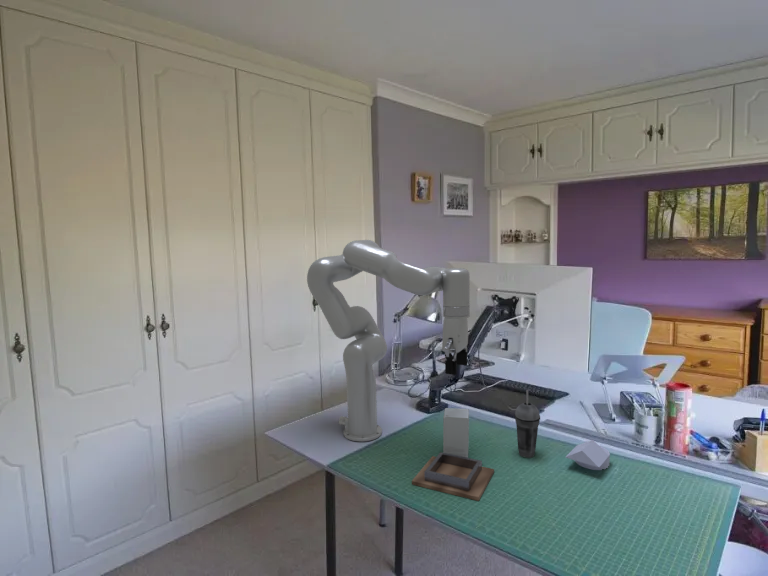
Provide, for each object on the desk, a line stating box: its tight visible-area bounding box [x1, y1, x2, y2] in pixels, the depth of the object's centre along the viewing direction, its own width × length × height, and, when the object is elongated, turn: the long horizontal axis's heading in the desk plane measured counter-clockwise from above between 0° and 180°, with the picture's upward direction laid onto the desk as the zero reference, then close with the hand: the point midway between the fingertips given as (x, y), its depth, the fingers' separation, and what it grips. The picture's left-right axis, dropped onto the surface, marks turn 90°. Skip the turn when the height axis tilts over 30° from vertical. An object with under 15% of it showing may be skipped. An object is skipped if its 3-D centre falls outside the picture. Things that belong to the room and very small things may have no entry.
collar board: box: [411, 451, 495, 502], centre depth 128 cm, size 18×15×4 cm
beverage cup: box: [514, 389, 541, 459], centre depth 140 cm, size 7×7×20 cm
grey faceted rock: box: [565, 439, 611, 471], centre depth 134 cm, size 9×7×13 cm
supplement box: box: [442, 407, 470, 458], centre depth 142 cm, size 7×7×13 cm
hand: (456, 369), depth 139 cm, fingers open, 9 cm apart
